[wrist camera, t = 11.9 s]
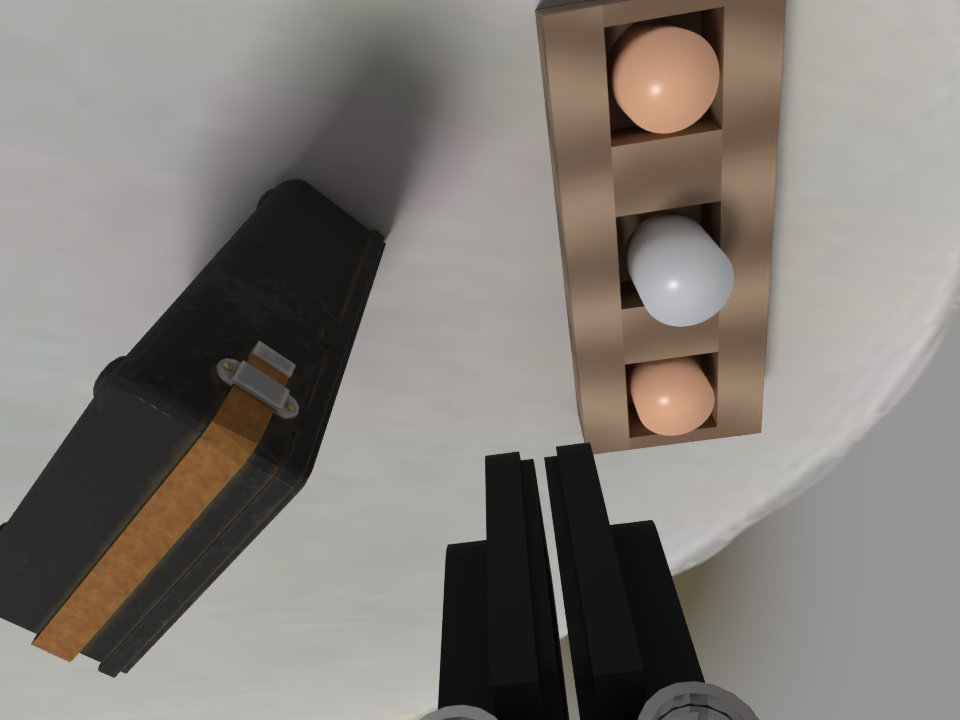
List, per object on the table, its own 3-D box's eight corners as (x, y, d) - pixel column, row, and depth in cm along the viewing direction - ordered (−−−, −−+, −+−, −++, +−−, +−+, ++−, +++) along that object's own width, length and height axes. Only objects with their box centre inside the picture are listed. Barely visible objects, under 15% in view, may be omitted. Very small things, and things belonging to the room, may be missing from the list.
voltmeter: (276, 391, 51) (131, 703, 30) (172, 324, 49) (-73, 615, 27) (403, 241, 46) (337, 494, 24) (293, 155, 43) (105, 354, 21)
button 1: (621, 340, 48) (635, 377, 44) (693, 330, 48) (715, 367, 44) (625, 399, 51) (639, 440, 46) (693, 390, 50) (714, 430, 46)
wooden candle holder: (535, 9, 39) (542, 16, 34) (751, -29, 38) (787, -28, 33) (578, 414, 53) (587, 454, 48) (737, 393, 52) (760, 432, 47)
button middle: (622, 218, 41) (639, 249, 36) (707, 205, 40) (735, 235, 36) (626, 295, 43) (642, 332, 39) (707, 283, 43) (732, 319, 38)
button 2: (601, 29, 38) (617, 38, 34) (692, 13, 38) (720, 20, 34) (607, 121, 41) (623, 140, 36) (692, 107, 40) (718, 125, 36)
